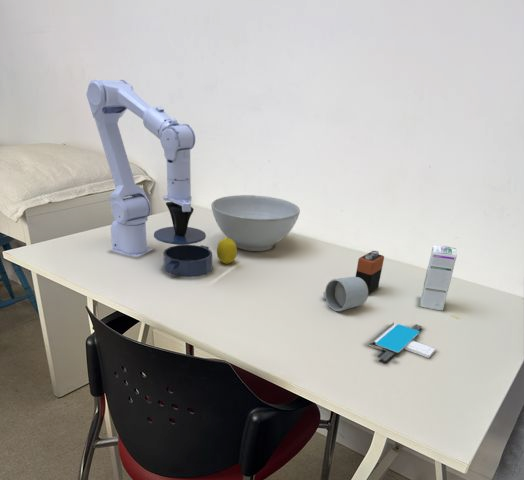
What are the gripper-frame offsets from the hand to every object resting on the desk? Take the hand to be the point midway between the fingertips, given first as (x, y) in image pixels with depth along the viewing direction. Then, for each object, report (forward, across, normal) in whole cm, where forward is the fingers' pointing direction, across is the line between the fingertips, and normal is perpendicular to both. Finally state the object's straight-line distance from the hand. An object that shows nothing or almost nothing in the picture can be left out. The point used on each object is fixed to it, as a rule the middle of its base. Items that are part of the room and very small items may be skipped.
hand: (180, 232), depth 130 cm
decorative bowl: (+11, -15, +27) cm, 33 cm away
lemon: (+11, -1, +13) cm, 17 cm away
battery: (+11, +24, +44) cm, 51 cm away
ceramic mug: (+11, +31, +32) cm, 46 cm away
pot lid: (+1, 0, 0) cm, 1 cm away
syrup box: (+11, +37, +55) cm, 67 cm away
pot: (+10, 0, +2) cm, 11 cm away
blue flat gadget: (+11, +52, +36) cm, 64 cm away
